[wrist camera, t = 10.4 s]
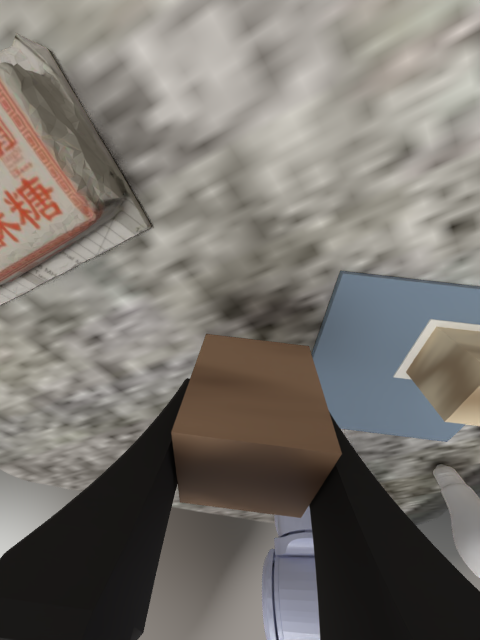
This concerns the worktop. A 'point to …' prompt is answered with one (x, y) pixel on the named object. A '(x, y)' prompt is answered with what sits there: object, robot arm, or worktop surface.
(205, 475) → the walnut block
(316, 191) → the worktop surface
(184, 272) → the worktop surface
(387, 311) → the board
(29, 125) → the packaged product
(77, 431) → the worktop surface
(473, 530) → the lightbulb
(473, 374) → the maple block
